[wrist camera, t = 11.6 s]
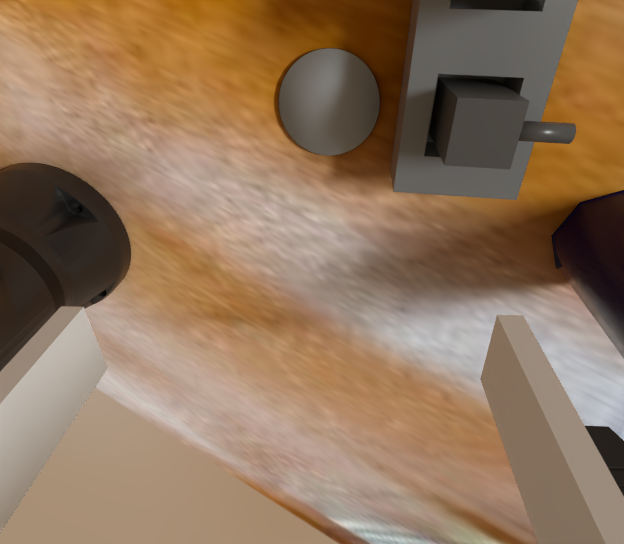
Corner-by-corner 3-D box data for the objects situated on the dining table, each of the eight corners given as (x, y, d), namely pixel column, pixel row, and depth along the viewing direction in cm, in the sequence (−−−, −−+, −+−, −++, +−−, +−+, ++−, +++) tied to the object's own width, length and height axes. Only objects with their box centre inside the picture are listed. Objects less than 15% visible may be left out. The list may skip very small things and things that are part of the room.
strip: (390, 169, 36) (396, 213, 29) (432, -155, 26) (460, -220, 18) (511, 177, 36) (550, 224, 28) (607, -154, 25) (713, -222, 17)
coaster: (280, 151, 36) (279, 152, 36) (278, 45, 32) (278, 46, 32) (373, 157, 36) (374, 158, 36) (385, 50, 32) (385, 50, 31)
